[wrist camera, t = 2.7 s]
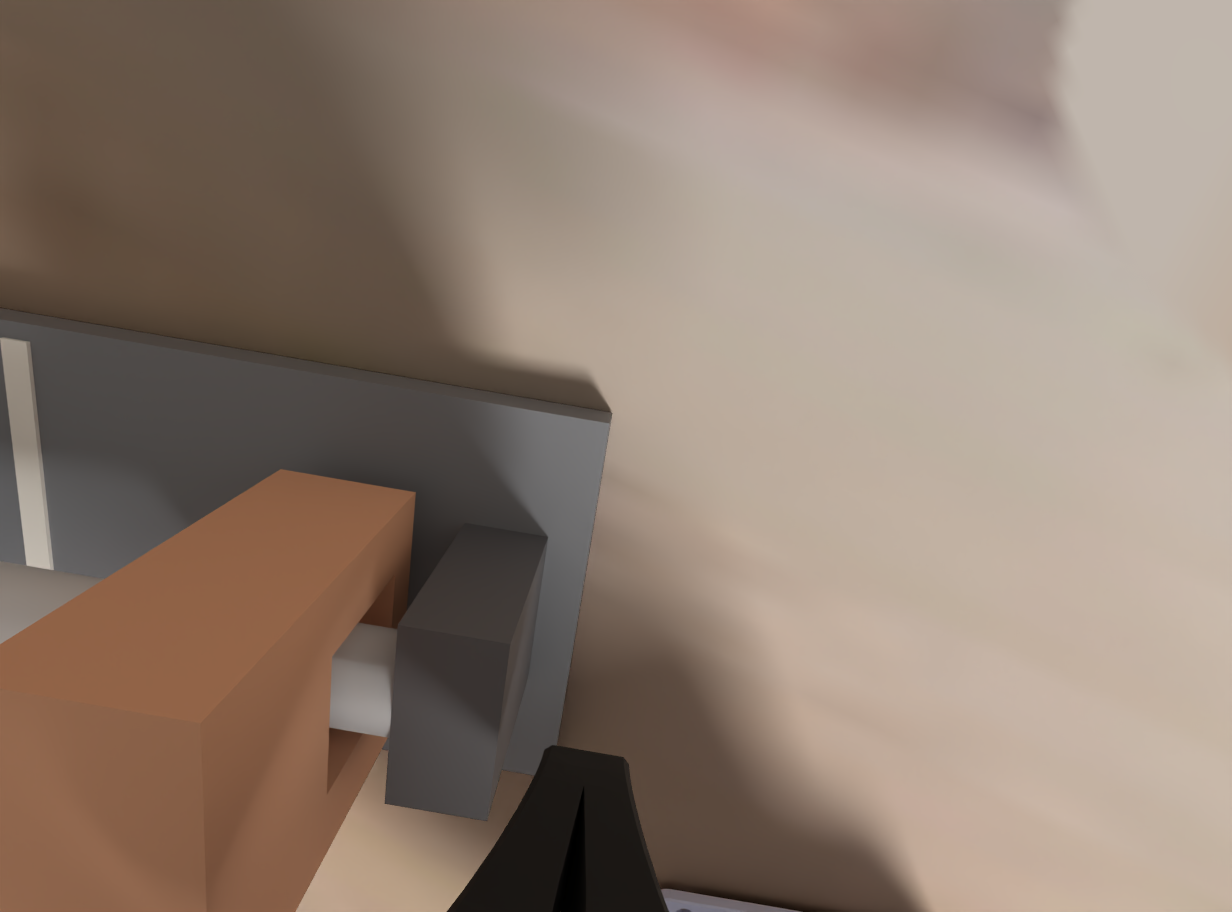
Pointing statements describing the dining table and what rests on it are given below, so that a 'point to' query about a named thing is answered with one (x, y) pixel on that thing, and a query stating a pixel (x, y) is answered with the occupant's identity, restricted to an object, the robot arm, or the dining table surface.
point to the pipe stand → (336, 448)
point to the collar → (198, 709)
